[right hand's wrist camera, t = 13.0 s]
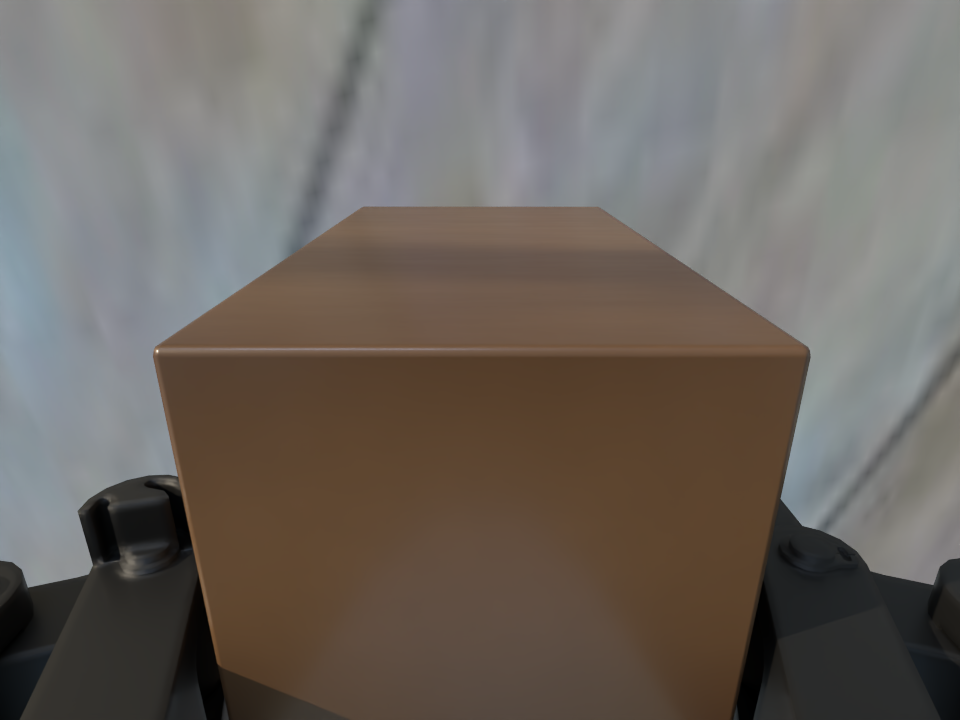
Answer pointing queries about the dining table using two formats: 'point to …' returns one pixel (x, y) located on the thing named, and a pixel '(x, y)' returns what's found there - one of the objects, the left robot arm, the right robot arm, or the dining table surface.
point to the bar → (481, 472)
